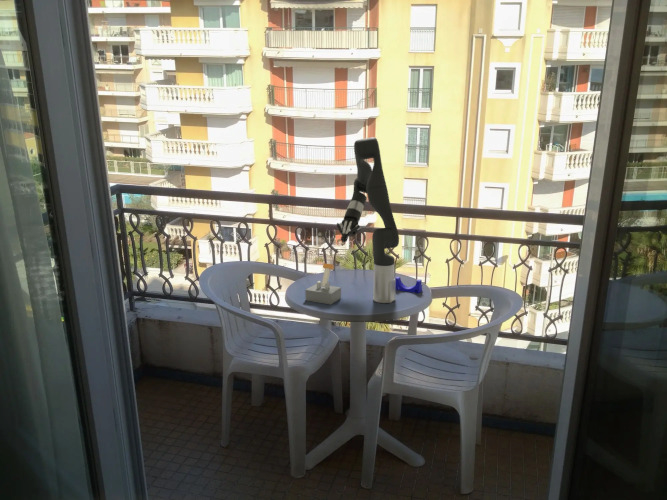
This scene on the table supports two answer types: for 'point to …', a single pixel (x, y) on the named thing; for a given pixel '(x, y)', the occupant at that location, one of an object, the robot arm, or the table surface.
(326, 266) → the lever
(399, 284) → the cable clip
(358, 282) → the table surface
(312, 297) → the block
